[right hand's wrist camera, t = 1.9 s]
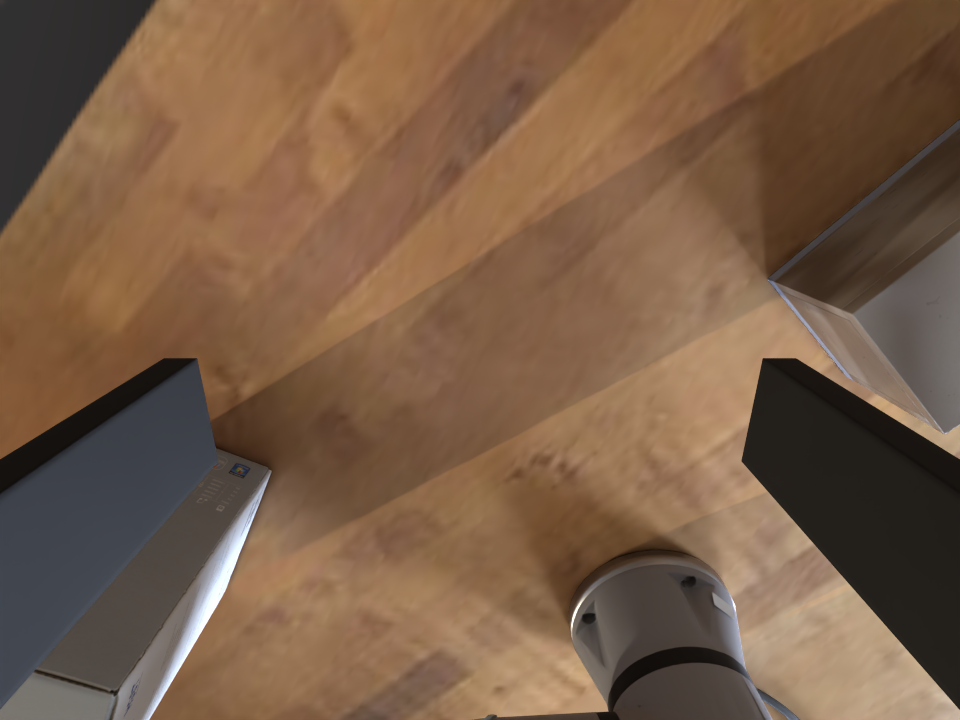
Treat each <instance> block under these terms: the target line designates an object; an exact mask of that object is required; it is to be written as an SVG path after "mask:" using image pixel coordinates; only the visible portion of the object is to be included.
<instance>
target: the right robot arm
mask: <svg viewBox="0 0 960 720" xmlns="http://www.w3.org/2000/svg"><path fill="white" fill-rule="evenodd" d="M217 462H218V456H217V452H216V447H215V442H214V437H213V432H212V428H211V423H210V418H209V413H208V408H207V404H206V399H205V394H204V389H203V384H202V380H201V375H200V370H199V365H198V360H197V358H164V359H162V360H161V361H159V362H157V363H156V364H154V365H153V366H151V367H149V368H148V369H146V370H144V371H143V372H141V373H140V374H138V375H136V376H135V377H133V378H131V379H130V380H128V381H127V382H125V383H123V384H122V385H120V386H119V387H117V388H115V389H114V390H112V391H110V392H109V393H107V394H106V395H104V396H102V397H101V398H99V399H97V400H96V401H94V402H93V403H91V404H89V405H88V406H86V407H85V408H83V409H81V410H80V411H78V412H76V413H75V414H73V415H72V416H70V417H68V418H67V419H65V420H63V421H62V422H60V423H59V424H57V425H55V426H54V427H52V428H50V429H49V430H47V431H46V432H44V433H42V434H41V435H39V436H38V437H36V438H34V439H33V440H31V441H29V442H28V443H26V444H25V445H23V446H21V447H20V448H18V449H16V450H15V451H13V452H12V453H10V454H8V455H7V456H5V457H4V458H2V459H0V709H1V708H2V707H3V706H4V705H5V704H6V703H7V701H8V700H9V699H10V698H11V697H12V696H13V695H14V694H15V692H16V691H17V690H18V689H19V688H20V687H21V686H22V684H23V683H24V682H25V681H26V680H27V679H28V678H29V676H30V675H31V674H32V673H33V672H34V671H35V670H36V668H37V667H38V666H39V665H40V664H41V663H42V662H43V660H44V659H45V658H46V657H47V656H48V655H49V654H50V653H51V651H52V650H53V649H54V648H55V647H56V646H57V645H58V643H59V642H60V641H61V640H62V639H63V638H64V637H65V635H66V634H67V633H68V632H69V631H70V630H71V629H72V627H73V626H74V625H75V624H76V623H77V622H78V621H79V619H80V618H81V617H82V616H83V615H84V614H85V613H86V612H87V610H88V609H89V608H90V607H91V606H92V605H93V604H94V602H95V601H96V600H97V599H98V598H99V597H100V596H101V594H102V593H103V592H104V591H105V590H106V589H107V588H108V586H109V585H110V584H111V583H112V582H113V581H114V580H115V578H116V577H117V576H118V575H119V574H120V573H121V572H122V571H123V569H124V568H125V567H126V566H127V565H128V564H129V563H130V561H131V560H132V559H133V558H134V557H135V556H136V555H137V553H138V552H139V551H140V550H141V549H142V548H143V547H144V545H145V544H146V543H147V542H148V541H149V540H150V539H151V537H152V536H153V535H154V534H155V533H156V532H157V531H158V530H159V528H160V527H161V526H162V525H163V524H164V523H165V522H166V520H167V519H168V518H169V517H170V516H171V515H172V514H173V512H174V511H175V510H176V509H177V508H178V507H179V506H180V504H181V503H182V502H183V501H184V500H185V499H186V498H187V496H188V495H189V494H190V493H191V492H192V491H193V490H194V489H195V487H196V486H197V485H198V484H199V483H200V482H201V481H202V479H203V478H204V477H205V476H206V475H207V474H208V473H209V471H210V470H211V469H212V468H213V467H214V466H215V465H216V463H217ZM742 462H743V463H744V465H745V466H746V467H747V468H748V469H749V470H750V471H751V473H752V474H753V475H754V476H755V477H756V478H757V479H758V481H759V482H760V483H761V484H762V485H763V486H764V487H765V489H766V490H767V491H768V492H769V493H770V494H771V495H772V496H773V498H774V499H775V500H776V501H777V502H778V503H779V504H780V506H781V507H782V508H783V509H784V510H785V511H786V512H787V514H788V515H789V516H790V517H791V518H792V519H793V520H794V522H795V523H796V524H797V525H798V526H799V527H800V528H801V530H802V531H803V532H804V533H805V534H806V535H807V536H808V537H809V539H810V540H811V541H812V542H813V543H814V544H815V545H816V547H817V548H818V549H819V550H820V551H821V552H822V553H823V555H824V556H825V557H826V558H827V559H828V560H829V561H830V563H831V564H832V565H833V566H834V567H835V568H836V569H837V571H838V572H839V573H840V574H841V575H842V576H843V577H844V578H845V580H846V581H847V582H848V583H849V584H850V585H851V586H852V588H853V589H854V590H855V591H856V592H857V593H858V594H859V596H860V597H861V598H862V599H863V600H864V601H865V602H866V604H867V605H868V606H869V607H870V608H871V609H872V610H873V612H874V613H875V614H876V615H877V616H878V617H879V618H880V619H881V621H882V622H883V623H884V624H885V625H886V626H887V627H888V629H889V630H890V631H891V632H892V633H893V634H894V635H895V637H896V638H897V639H898V640H899V641H900V642H901V643H902V645H903V646H904V647H905V648H906V649H907V650H908V651H909V653H910V654H911V655H912V656H913V657H914V658H915V659H916V660H917V662H918V663H919V664H920V665H921V666H922V667H923V668H924V670H925V671H926V672H927V673H928V674H929V675H930V676H931V678H932V679H933V680H934V681H935V682H936V683H937V684H938V686H939V687H940V688H941V689H942V690H943V691H944V692H945V694H946V695H947V696H948V697H949V698H950V699H951V700H952V701H953V703H954V704H955V705H956V706H957V707H958V708H959V709H960V459H958V458H956V457H955V456H953V455H952V454H950V453H948V452H947V451H945V450H944V449H942V448H940V447H939V446H937V445H935V444H934V443H932V442H931V441H929V440H927V439H926V438H924V437H922V436H921V435H919V434H918V433H916V432H914V431H913V430H911V429H910V428H908V427H906V426H905V425H903V424H901V423H900V422H898V421H897V420H895V419H893V418H892V417H890V416H888V415H887V414H885V413H884V412H882V411H880V410H879V409H877V408H875V407H874V406H872V405H871V404H869V403H867V402H866V401H864V400H863V399H861V398H859V397H858V396H856V395H854V394H853V393H851V392H850V391H848V390H846V389H845V388H843V387H841V386H840V385H838V384H837V383H835V382H833V381H832V380H830V379H829V378H827V377H825V376H824V375H822V374H820V373H819V372H817V371H816V370H814V369H812V368H811V367H809V366H807V365H806V364H804V363H803V362H801V361H799V360H798V359H796V358H763V360H762V365H761V370H760V375H759V380H758V384H757V389H756V394H755V399H754V404H753V408H752V413H751V418H750V423H749V428H748V432H747V437H746V442H745V447H744V452H743V456H742ZM568 618H569V626H570V631H571V636H572V641H573V645H574V648H575V650H576V652H577V654H578V656H579V658H580V659H581V661H582V663H583V664H584V666H585V668H586V670H587V671H588V673H589V675H590V676H591V678H592V680H593V681H594V683H595V685H596V686H597V688H598V690H599V692H600V693H601V695H602V697H603V698H604V700H605V702H606V703H607V706H608V711H609V712H591V713H572V714H554V715H535V716H517V717H497V715H488V716H487V717H486V718H482V719H474V720H772V718H771V716H770V714H769V712H768V710H767V708H766V707H765V705H764V703H763V701H764V702H766V703H768V704H769V705H771V706H772V707H774V708H775V709H777V710H778V711H779V712H781V713H782V714H783V715H784V716H785V717H787V718H788V719H789V720H799V719H798V718H797V716H795V715H794V714H793V713H792V712H791V711H790V710H789V709H788V708H786V707H785V706H784V705H782V704H781V703H780V702H778V701H777V700H775V699H774V698H772V697H771V696H769V695H767V694H766V693H764V692H762V691H761V690H759V689H757V688H755V686H754V684H753V682H752V680H751V678H750V676H749V674H748V672H747V670H746V668H745V664H744V658H743V652H742V646H741V639H740V633H739V627H738V621H737V615H736V610H735V605H734V602H733V599H732V597H731V596H730V594H729V592H728V590H727V588H726V587H725V585H724V583H723V581H722V580H721V578H720V577H719V575H718V574H717V573H716V572H715V571H714V570H713V569H712V568H711V567H710V566H708V565H707V564H706V563H704V562H702V561H701V560H699V559H697V558H695V557H692V556H690V555H687V554H684V553H679V552H674V551H667V550H649V551H641V552H635V553H631V554H627V555H624V556H621V557H618V558H616V559H614V560H611V561H610V562H608V563H606V564H604V565H602V566H601V567H599V568H598V569H596V570H595V571H594V572H592V573H591V574H590V575H589V576H588V577H587V578H586V579H585V580H584V581H583V582H582V583H581V585H580V586H579V587H578V589H577V590H576V592H575V594H574V596H573V598H572V601H571V604H570V608H569V617H568ZM762 700H763V701H762Z"/></svg>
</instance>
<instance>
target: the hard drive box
mask: <svg viewBox="0 0 960 720" xmlns="http://www.w3.org/2000/svg"><path fill="white" fill-rule="evenodd" d="M216 452H217V456H218V462H217V463H216V465H215V466H214V467H213V468H212V469H211V470H210V471H209V473H208V474H207V475H206V476H205V477H204V478H203V479H202V481H201V482H200V483H199V484H198V485H197V486H196V487H195V489H194V490H193V491H192V492H191V493H190V494H189V495H188V496H187V498H186V499H185V500H184V501H183V502H182V503H181V504H180V506H179V507H178V508H177V509H176V510H175V511H174V512H173V514H172V515H171V516H170V517H169V518H168V519H167V520H166V522H165V523H164V524H163V525H162V526H161V527H160V528H159V530H158V531H157V532H156V533H155V534H154V535H153V536H152V537H151V539H150V540H149V541H148V542H147V543H146V544H145V545H144V547H143V548H142V549H141V550H140V551H139V552H138V553H137V555H136V556H135V557H134V558H133V559H132V560H131V561H130V563H129V564H128V565H127V566H126V567H125V568H124V569H123V571H122V572H121V573H120V574H119V575H118V576H117V577H116V578H115V580H114V581H113V582H112V583H111V584H110V585H109V586H108V588H107V589H106V590H105V591H104V592H103V593H102V594H101V596H100V597H99V598H98V599H97V600H96V601H95V602H94V604H93V605H92V606H91V607H90V608H89V609H88V610H87V612H86V613H85V614H84V615H83V616H82V617H81V618H80V619H79V621H78V622H77V623H76V624H75V625H74V626H73V627H72V629H71V630H70V631H69V632H68V633H67V634H66V635H65V637H64V638H63V639H62V640H61V641H60V642H59V643H58V645H57V646H56V647H55V648H54V649H53V650H52V651H51V653H50V654H49V655H48V656H47V657H46V658H45V659H44V660H43V662H42V663H41V664H40V665H39V666H38V667H37V668H36V670H35V671H34V672H33V673H32V674H31V675H30V676H29V678H28V679H27V680H26V681H25V682H24V683H23V684H22V686H21V687H20V688H19V689H18V690H17V691H16V692H15V694H14V695H13V696H12V697H11V698H10V699H9V700H8V701H7V703H6V704H5V705H4V706H3V707H2V708H1V709H0V720H149V719H150V717H151V716H152V714H153V712H154V711H155V709H156V707H157V706H158V704H159V702H160V701H161V699H162V697H163V696H164V694H165V692H166V691H167V689H168V687H169V686H170V684H171V682H172V680H173V679H174V677H175V675H176V674H177V672H178V670H179V669H180V667H181V665H182V664H183V662H184V660H185V659H186V657H187V655H188V654H189V652H190V650H191V648H192V647H193V645H194V643H195V642H196V640H197V638H198V637H199V635H200V633H201V632H202V630H203V628H204V626H205V625H206V623H207V621H208V620H209V618H210V616H211V615H212V613H213V611H214V610H215V608H216V606H217V604H218V603H219V601H220V599H221V598H222V596H223V594H224V592H225V590H226V588H227V585H228V582H229V579H230V577H231V574H232V572H233V569H234V567H235V564H236V562H237V559H238V556H239V554H240V551H241V549H242V546H243V544H244V541H245V539H246V536H247V534H248V531H249V528H250V526H251V523H252V521H253V518H254V516H255V513H256V511H257V508H258V506H259V503H260V501H261V498H262V495H263V493H264V490H265V487H266V485H267V482H268V480H269V477H270V474H271V471H270V470H268V467H266V466H263V465H260V464H258V463H255V462H252V461H249V460H247V459H244V458H241V457H239V456H236V455H233V454H231V453H228V452H225V451H223V450H220V449H217V448H216Z"/></svg>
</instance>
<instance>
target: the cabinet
mask: <svg viewBox="0 0 960 720" xmlns="http://www.w3.org/2000/svg"><path fill="white" fill-rule="evenodd" d="M768 281H769V282H770V283H771V284H772V285H773V287H774V288H775V289H776V290H777V292H778V293H779V294H780V295H781V297H782V298H783V299H784V300H785V301H786V303H787V304H788V305H789V306H790V308H791V309H792V310H793V311H794V312H795V314H796V315H797V316H798V317H799V319H800V320H801V321H802V322H803V324H804V325H805V326H806V327H807V328H808V330H809V331H810V332H811V333H812V335H813V336H814V337H815V338H816V340H817V341H818V342H819V343H820V344H821V346H822V347H823V348H824V349H825V351H826V352H827V353H828V354H829V356H830V357H831V358H832V359H833V360H834V362H835V363H836V364H837V365H838V367H839V368H840V369H841V370H842V372H843V373H844V374H845V375H846V376H847V377H848V378H850V379H851V380H853V381H855V382H857V383H859V384H860V385H862V386H864V387H865V388H867V389H869V390H871V391H872V392H874V393H876V394H877V395H879V396H881V397H882V398H884V399H886V400H887V401H889V402H891V403H892V404H894V405H896V406H897V407H899V408H901V409H903V410H904V411H906V412H908V413H909V414H911V415H913V416H914V417H916V418H918V419H919V420H921V421H923V422H924V423H926V424H928V425H929V426H931V427H933V428H935V429H936V430H938V431H940V432H941V433H943V434H946V433H948V432H949V431H951V430H952V429H954V428H955V427H957V426H958V425H960V120H958V121H957V122H956V123H955V124H953V125H952V126H951V127H950V128H949V129H947V130H946V131H945V132H944V133H943V134H941V135H940V136H939V137H938V138H937V139H935V140H934V141H933V142H932V143H931V144H929V145H928V146H927V147H926V148H924V149H923V150H922V151H921V152H920V153H918V154H917V155H916V156H915V157H914V158H912V159H911V160H910V161H909V162H908V163H906V164H905V165H904V166H903V167H902V168H900V169H899V170H898V171H897V172H896V173H894V174H893V175H892V176H891V177H889V178H888V179H887V180H886V181H885V182H883V183H882V184H881V185H880V186H879V187H877V188H876V189H875V190H874V191H873V192H871V193H870V194H869V195H868V196H867V197H865V198H864V199H863V200H862V201H860V202H859V203H858V204H857V205H856V206H854V207H853V208H852V209H851V210H850V211H848V212H847V213H846V214H845V215H844V216H842V217H841V218H840V219H839V220H838V221H836V222H835V223H834V224H833V225H832V226H830V227H829V228H828V229H827V230H825V231H824V232H823V233H822V234H821V235H819V236H818V237H817V238H816V239H815V240H813V241H812V242H811V243H810V244H809V245H807V246H806V247H805V248H804V249H803V250H801V251H800V252H799V253H798V254H796V255H795V256H794V257H793V258H792V259H790V260H789V261H788V262H787V263H786V264H784V265H783V266H782V267H781V268H780V269H778V270H777V271H776V272H775V273H774V274H772V275H771V276H770V277H769V278H768Z"/></svg>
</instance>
